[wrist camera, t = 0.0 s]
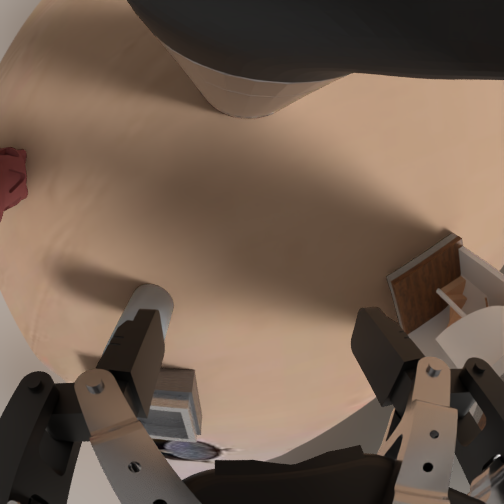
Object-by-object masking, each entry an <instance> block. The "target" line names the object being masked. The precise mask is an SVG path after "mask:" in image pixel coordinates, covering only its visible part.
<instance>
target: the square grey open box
mask: <svg viewBox="0 0 504 504" xmlns="http://www.w3.org/2000/svg"><path fill="white" fill-rule="evenodd" d="M137 420H140V422H141V423H142V425H143V426H144V428H145V429H146V431H147V433H148V434H149V436H150V437H151V438H157V439H165V440H174V441H186V442H196V440H197V435H201V424H202V412H201V407H200V401H199V395H198V389H197V383H196V376H195V370H183V369H168V368H160V372H159V375H158V379H157V383H156V386H155V390H154V394H153V398H152V402H151V406H150V410H149V414H148V418H147V419H146V418H139V417H137Z"/></svg>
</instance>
